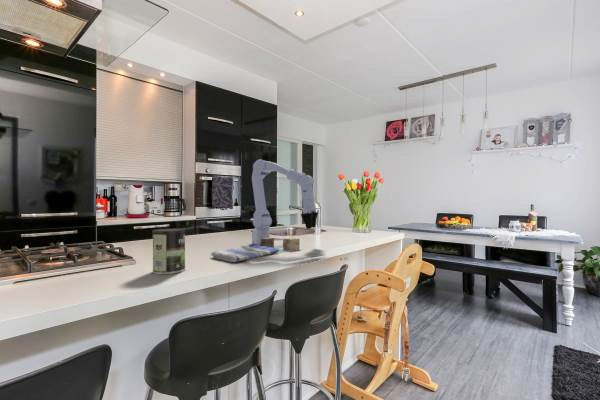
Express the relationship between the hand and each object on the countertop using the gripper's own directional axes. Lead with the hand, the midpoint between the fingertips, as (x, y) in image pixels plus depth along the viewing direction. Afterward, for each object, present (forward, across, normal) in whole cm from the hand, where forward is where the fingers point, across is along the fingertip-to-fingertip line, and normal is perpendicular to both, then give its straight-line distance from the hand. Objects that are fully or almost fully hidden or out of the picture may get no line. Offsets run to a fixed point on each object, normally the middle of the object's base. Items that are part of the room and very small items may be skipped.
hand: (311, 227), depth 146 cm
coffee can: (+7, -56, +35) cm, 67 cm away
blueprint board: (+9, -8, +14) cm, 19 cm away
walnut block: (+7, -10, +20) cm, 23 cm away
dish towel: (+8, -26, +23) cm, 35 cm away
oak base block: (+9, -7, +9) cm, 14 cm away
